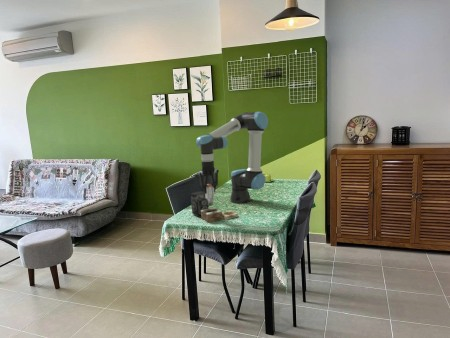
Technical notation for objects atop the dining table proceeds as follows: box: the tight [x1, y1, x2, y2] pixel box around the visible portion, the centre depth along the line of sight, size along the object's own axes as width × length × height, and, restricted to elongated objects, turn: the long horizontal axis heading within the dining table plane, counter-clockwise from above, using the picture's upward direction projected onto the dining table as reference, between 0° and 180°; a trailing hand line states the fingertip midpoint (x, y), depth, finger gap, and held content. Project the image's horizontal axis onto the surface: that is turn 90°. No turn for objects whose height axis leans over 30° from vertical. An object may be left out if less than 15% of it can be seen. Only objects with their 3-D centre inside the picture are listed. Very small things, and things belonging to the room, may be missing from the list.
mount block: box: [222, 209, 239, 220], centre depth 217 cm, size 9×9×2 cm
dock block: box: [200, 206, 223, 224], centre depth 213 cm, size 10×10×6 cm
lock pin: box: [207, 183, 214, 207], centre depth 211 cm, size 4×4×13 cm
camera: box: [190, 191, 210, 217], centre depth 222 cm, size 10×10×15 cm
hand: (210, 197), depth 211 cm, fingers closed on lock pin, 3 cm apart
